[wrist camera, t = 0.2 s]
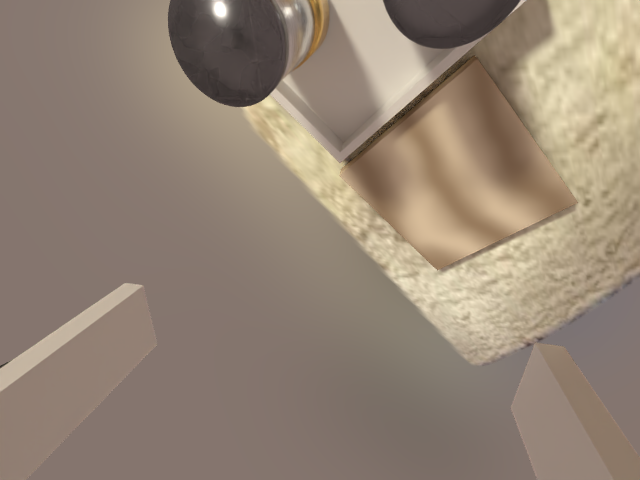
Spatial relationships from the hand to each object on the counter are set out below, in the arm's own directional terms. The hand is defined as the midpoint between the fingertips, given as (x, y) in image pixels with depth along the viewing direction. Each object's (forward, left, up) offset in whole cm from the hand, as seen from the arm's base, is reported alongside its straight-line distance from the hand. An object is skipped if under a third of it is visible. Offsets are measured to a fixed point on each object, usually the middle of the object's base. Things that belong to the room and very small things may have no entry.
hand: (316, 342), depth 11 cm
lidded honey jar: (0, -10, -26) cm, 28 cm away
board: (-1, +12, -27) cm, 29 cm away
